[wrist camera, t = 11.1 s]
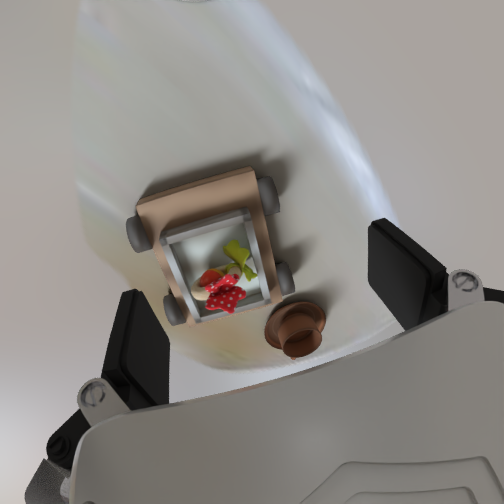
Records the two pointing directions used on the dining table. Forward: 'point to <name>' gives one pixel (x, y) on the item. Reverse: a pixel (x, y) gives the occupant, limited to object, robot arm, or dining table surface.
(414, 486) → the robot arm
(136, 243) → the chassis
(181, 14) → the dining table surface
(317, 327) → the cup and saucer
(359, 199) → the dining table surface
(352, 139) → the dining table surface
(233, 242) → the bird rattle
